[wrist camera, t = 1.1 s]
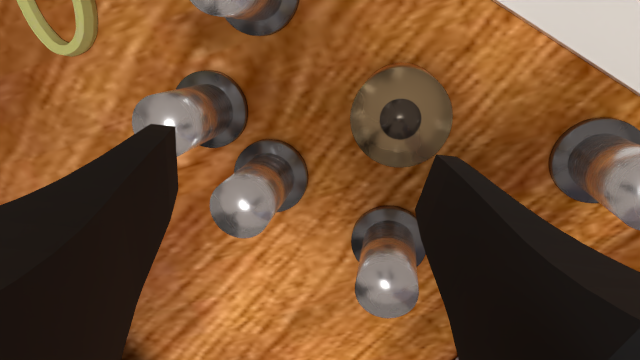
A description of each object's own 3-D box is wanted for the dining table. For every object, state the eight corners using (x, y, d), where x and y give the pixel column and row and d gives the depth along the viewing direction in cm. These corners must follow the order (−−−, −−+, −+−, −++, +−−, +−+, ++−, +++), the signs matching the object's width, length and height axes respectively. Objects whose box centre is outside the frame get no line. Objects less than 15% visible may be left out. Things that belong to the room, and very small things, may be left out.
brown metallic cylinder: (459, 91, 22) (474, 103, 17) (410, 159, 23) (413, 185, 19) (388, 46, 22) (386, 46, 17) (343, 117, 23) (331, 133, 19)
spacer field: (752, 59, 19) (885, 65, 14) (474, 341, 26) (492, 414, 21) (310, -231, 18) (276, -337, 13) (149, 136, 26) (87, 160, 20)
